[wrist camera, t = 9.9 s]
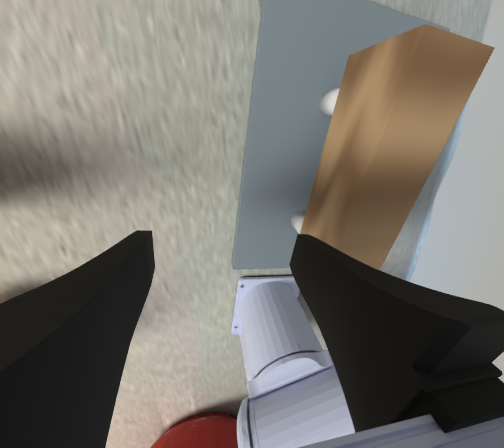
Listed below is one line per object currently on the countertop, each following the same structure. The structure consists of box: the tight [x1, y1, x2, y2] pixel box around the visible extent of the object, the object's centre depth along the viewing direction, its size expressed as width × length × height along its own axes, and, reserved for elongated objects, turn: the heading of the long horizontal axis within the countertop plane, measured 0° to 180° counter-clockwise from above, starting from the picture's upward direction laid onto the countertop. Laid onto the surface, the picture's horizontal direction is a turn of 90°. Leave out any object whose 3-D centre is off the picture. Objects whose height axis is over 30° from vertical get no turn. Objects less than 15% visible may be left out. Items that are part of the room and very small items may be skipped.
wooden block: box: [300, 24, 494, 270], centre depth 14 cm, size 14×4×5 cm, turn 172°
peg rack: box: [232, 0, 450, 269], centre depth 18 cm, size 22×14×4 cm, turn 172°
